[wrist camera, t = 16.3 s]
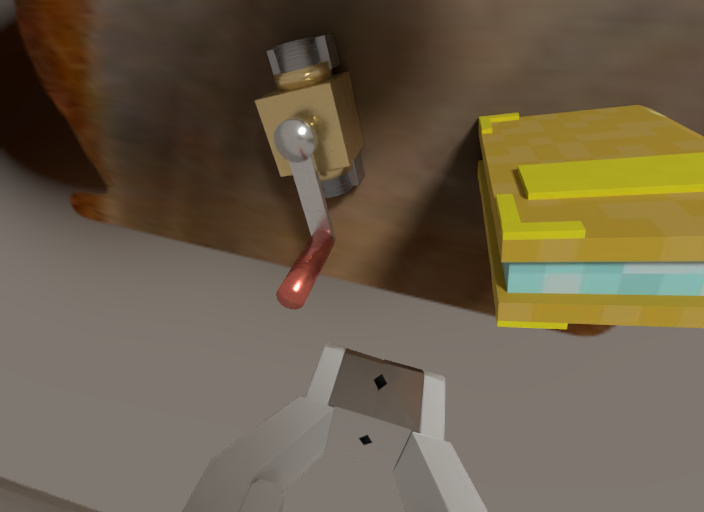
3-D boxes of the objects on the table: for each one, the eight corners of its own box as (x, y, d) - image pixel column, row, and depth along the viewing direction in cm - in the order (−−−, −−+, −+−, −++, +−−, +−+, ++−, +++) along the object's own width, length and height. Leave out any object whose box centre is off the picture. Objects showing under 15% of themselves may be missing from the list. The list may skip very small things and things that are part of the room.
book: (477, 176, 43) (497, 326, 23) (478, 116, 40) (502, 232, 20) (649, 165, 39) (862, 341, 18) (667, 96, 35) (956, 220, 15)
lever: (273, 120, 36) (213, 158, 27) (311, 113, 34) (261, 151, 26) (312, 246, 43) (274, 309, 34) (344, 244, 42) (314, 309, 33)
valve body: (271, 48, 41) (232, 57, 34) (339, 28, 38) (313, 34, 31) (312, 184, 49) (288, 214, 42) (371, 175, 46) (355, 206, 39)
